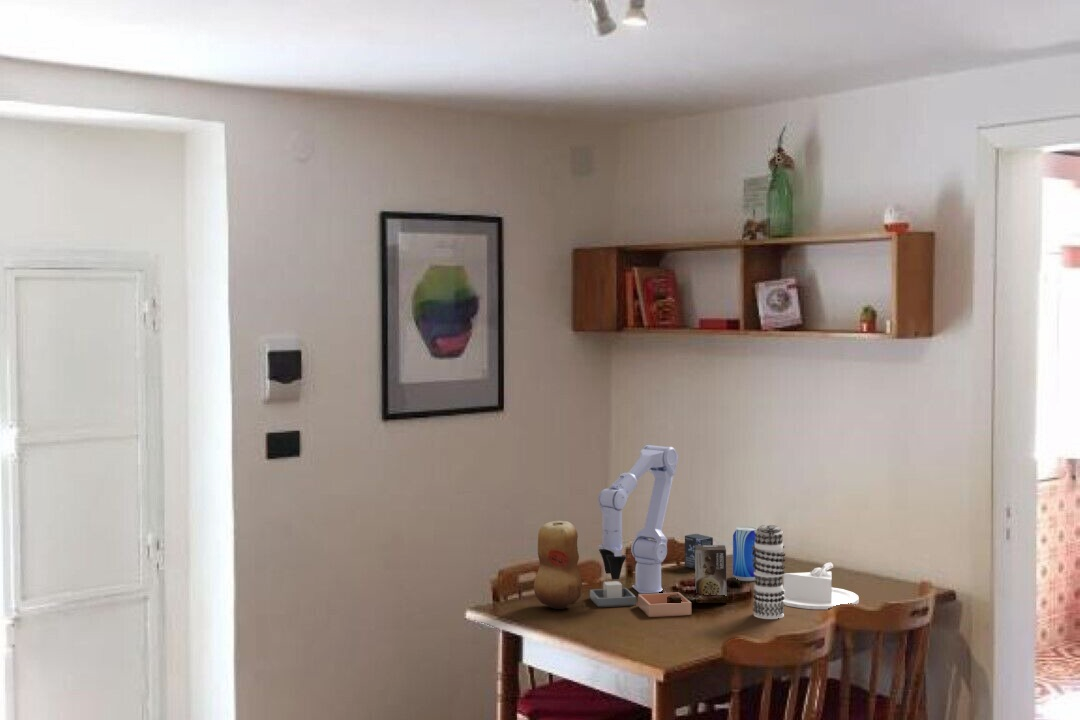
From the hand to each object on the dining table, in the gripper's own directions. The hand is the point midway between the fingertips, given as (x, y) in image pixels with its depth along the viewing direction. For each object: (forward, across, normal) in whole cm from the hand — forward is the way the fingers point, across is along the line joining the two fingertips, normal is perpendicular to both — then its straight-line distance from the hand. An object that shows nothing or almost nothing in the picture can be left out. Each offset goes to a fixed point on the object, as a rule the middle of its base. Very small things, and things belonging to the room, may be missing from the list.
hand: (612, 576), depth 364 cm
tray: (+8, 0, 0) cm, 8 cm away
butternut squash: (+8, +4, -17) cm, 19 cm away
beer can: (+8, -20, +48) cm, 53 cm away
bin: (+8, +13, +12) cm, 19 cm away
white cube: (+7, 0, 0) cm, 7 cm away
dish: (+8, +9, +59) cm, 60 cm away
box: (+8, -38, +38) cm, 54 cm away
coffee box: (+8, +6, +28) cm, 30 cm away
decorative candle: (+8, +24, +39) cm, 46 cm away
